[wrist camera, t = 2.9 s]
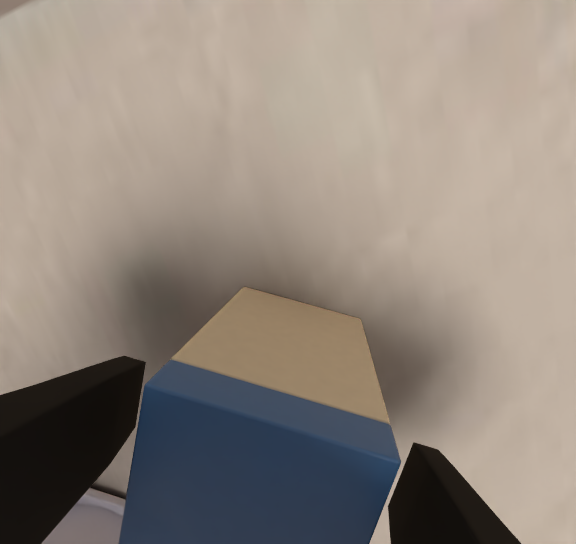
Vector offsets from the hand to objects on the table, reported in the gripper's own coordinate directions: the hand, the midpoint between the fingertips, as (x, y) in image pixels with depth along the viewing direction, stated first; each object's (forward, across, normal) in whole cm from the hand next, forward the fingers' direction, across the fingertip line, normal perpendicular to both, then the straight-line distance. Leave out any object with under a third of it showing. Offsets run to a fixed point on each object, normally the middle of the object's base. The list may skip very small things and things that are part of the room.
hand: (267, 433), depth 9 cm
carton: (+4, 0, 0) cm, 5 cm away
